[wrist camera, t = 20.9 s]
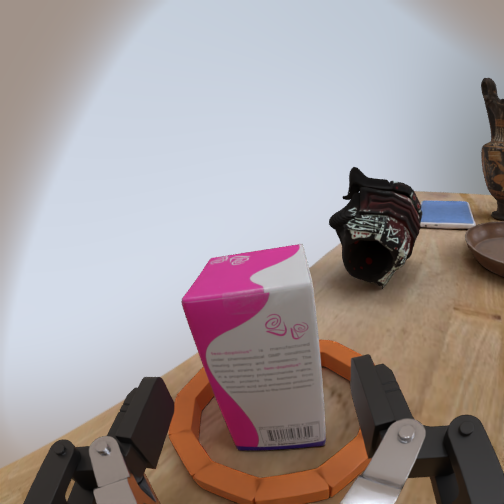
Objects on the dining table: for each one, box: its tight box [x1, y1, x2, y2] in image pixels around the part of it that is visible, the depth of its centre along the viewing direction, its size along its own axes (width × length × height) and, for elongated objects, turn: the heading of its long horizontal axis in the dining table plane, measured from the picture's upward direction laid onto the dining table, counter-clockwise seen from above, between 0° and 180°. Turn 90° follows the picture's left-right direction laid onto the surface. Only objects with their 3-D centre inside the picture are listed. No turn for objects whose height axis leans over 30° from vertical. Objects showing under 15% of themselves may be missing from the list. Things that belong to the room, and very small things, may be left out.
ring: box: [168, 340, 375, 504], centre depth 18 cm, size 15×15×2 cm
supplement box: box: [182, 244, 326, 450], centre depth 16 cm, size 6×6×12 cm
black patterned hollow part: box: [329, 167, 422, 289], centre depth 33 cm, size 10×15×14 cm
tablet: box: [420, 201, 476, 229], centre depth 52 cm, size 19×13×1 cm, turn 143°
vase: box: [481, 78, 504, 221], centre depth 39 cm, size 12×12×30 cm
